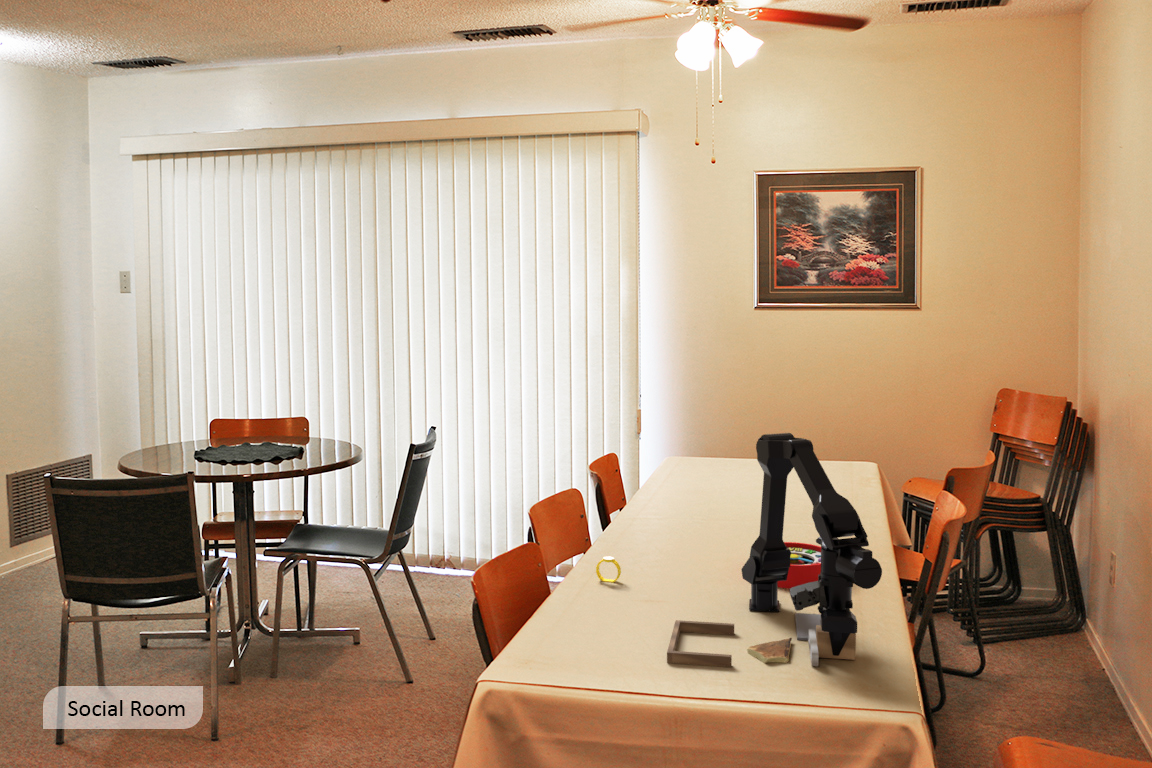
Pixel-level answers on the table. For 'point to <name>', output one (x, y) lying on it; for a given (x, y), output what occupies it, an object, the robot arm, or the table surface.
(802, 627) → the rubber mat
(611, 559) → the watch
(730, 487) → the table surface
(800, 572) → the toy clock
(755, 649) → the shard
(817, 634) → the wood and metal bracket
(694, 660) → the bar
